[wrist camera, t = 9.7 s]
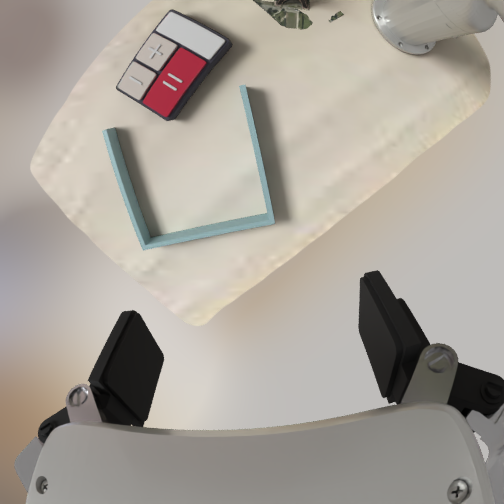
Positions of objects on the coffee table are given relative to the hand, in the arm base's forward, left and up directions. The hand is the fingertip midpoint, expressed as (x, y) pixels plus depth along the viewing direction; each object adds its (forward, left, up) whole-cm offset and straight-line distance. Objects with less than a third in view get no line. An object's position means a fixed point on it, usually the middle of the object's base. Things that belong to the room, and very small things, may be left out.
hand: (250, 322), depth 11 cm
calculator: (+8, -19, -35) cm, 40 cm away
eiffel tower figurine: (-11, -27, -35) cm, 46 cm away
